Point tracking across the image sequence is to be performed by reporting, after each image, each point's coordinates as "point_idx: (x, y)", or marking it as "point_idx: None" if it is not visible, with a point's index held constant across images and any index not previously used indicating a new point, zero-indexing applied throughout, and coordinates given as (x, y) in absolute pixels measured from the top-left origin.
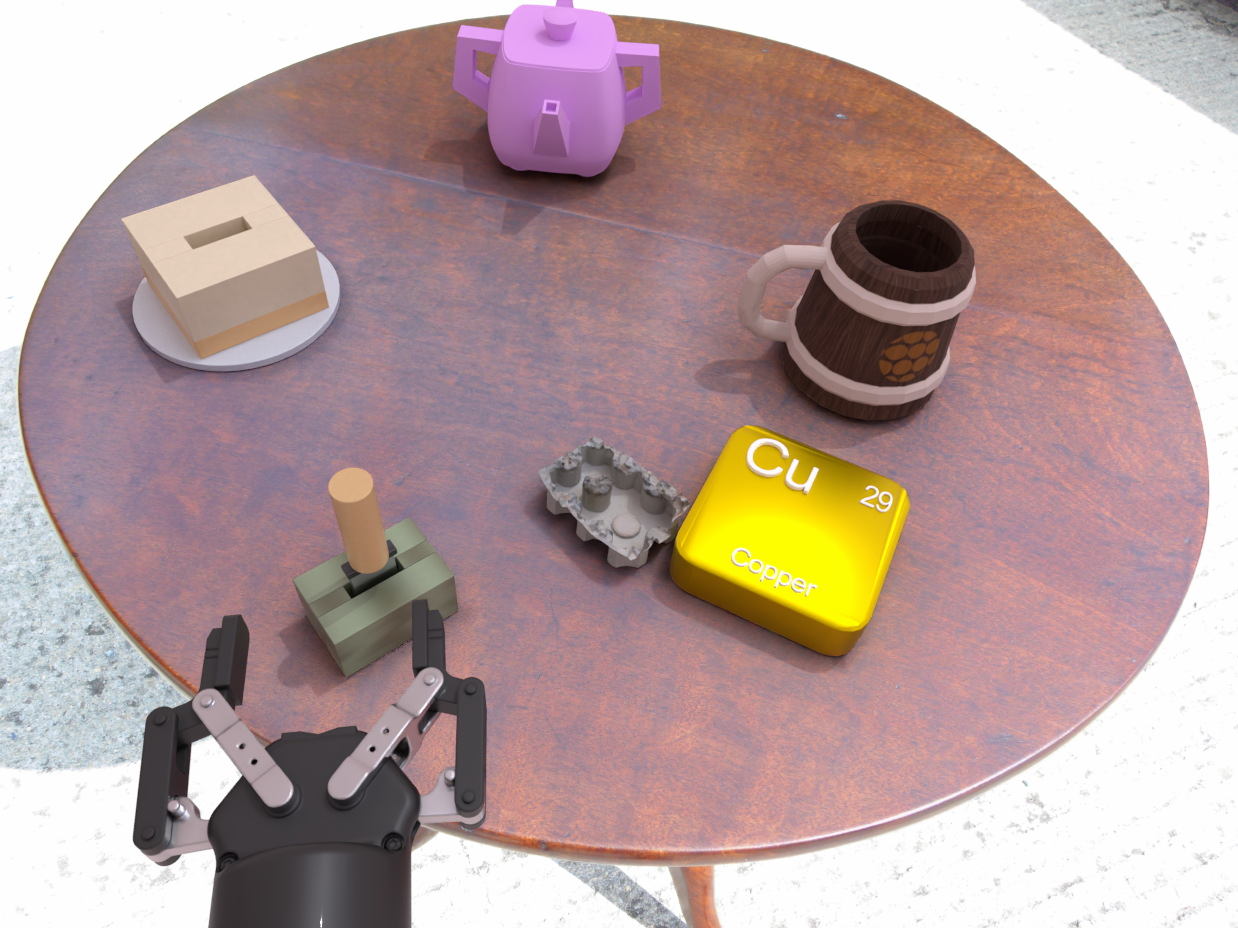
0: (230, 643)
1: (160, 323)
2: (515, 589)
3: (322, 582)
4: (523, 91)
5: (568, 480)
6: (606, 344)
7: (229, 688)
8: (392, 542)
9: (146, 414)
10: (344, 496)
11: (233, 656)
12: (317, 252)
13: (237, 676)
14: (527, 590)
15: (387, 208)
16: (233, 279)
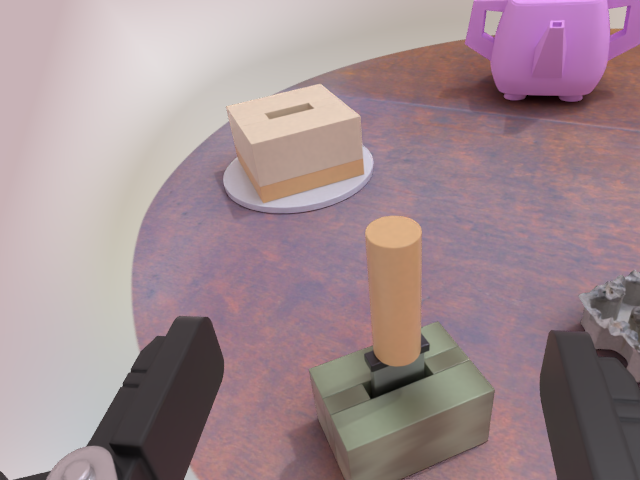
0: (173, 361)
1: (240, 181)
2: None
3: (340, 376)
4: (528, 26)
5: (606, 314)
6: (617, 205)
7: (142, 456)
8: None
9: (216, 238)
10: (384, 241)
11: (170, 387)
12: None
13: (173, 436)
14: None
15: (411, 122)
16: (295, 135)
